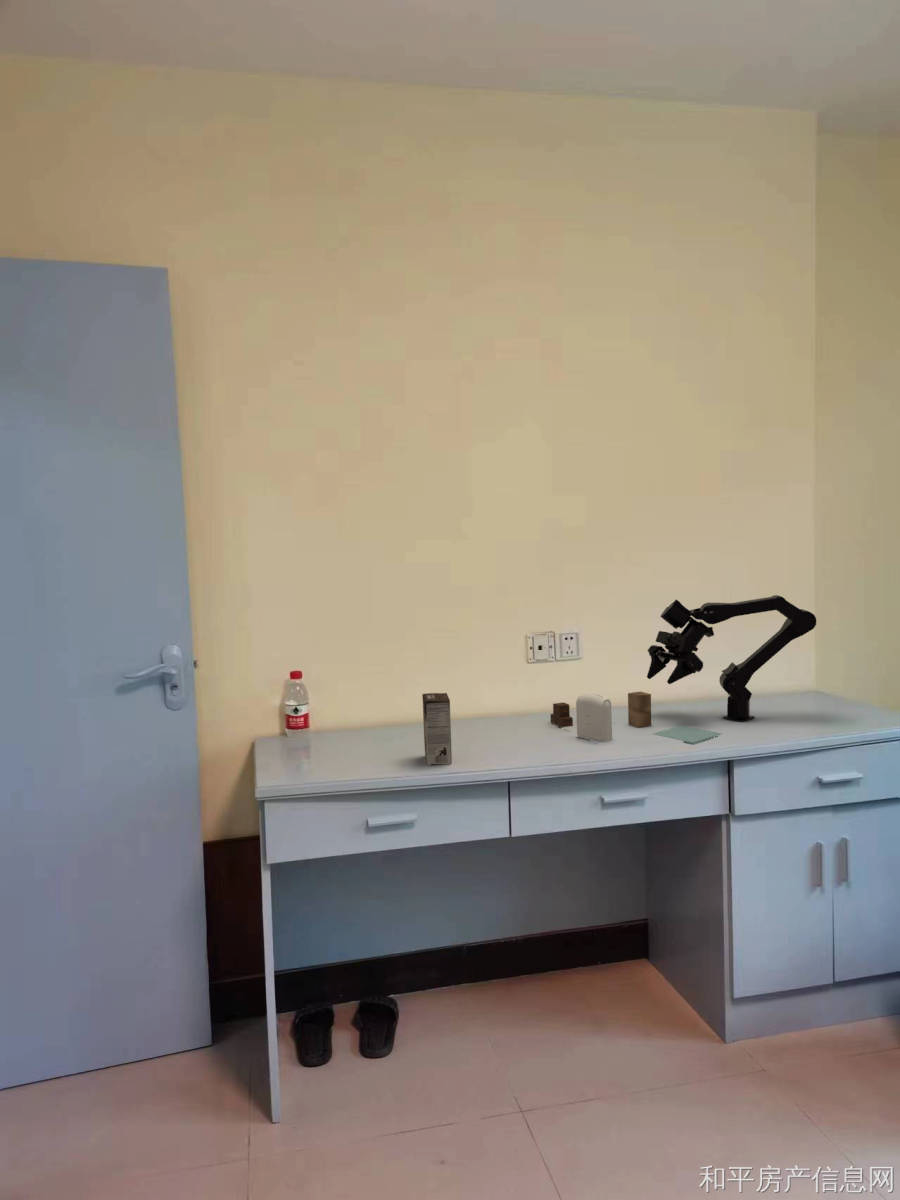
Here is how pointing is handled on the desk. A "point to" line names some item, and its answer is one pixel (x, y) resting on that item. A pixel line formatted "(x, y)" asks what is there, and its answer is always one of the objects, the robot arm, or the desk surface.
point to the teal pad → (687, 734)
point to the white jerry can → (594, 717)
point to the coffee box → (437, 728)
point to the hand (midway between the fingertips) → (657, 680)
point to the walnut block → (639, 709)
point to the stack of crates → (561, 715)
